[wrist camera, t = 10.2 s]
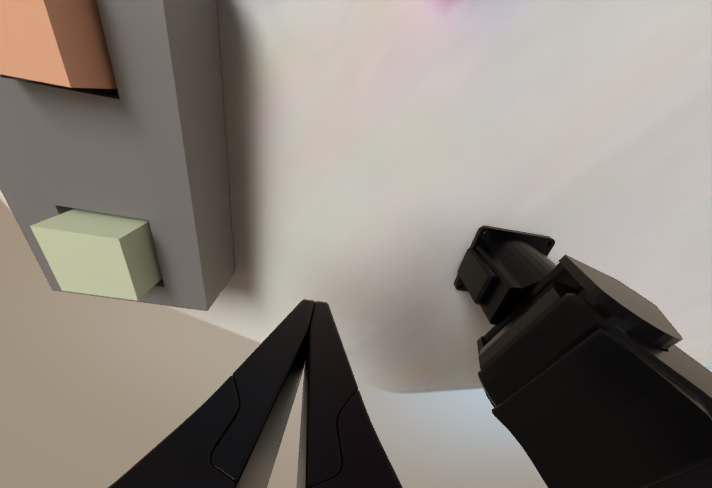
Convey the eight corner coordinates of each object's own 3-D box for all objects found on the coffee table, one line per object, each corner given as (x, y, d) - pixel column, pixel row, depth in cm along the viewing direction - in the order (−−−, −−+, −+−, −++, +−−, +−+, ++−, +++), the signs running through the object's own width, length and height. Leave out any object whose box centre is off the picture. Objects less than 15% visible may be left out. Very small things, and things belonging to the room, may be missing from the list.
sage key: (178, 204, 19) (118, 239, 15) (186, 255, 22) (137, 300, 17) (112, 193, 19) (30, 225, 14) (128, 246, 21) (61, 290, 16)
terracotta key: (141, -11, 14) (21, -71, 9) (158, 90, 16) (70, 87, 11) (46, -32, 13) (-134, -106, 8) (77, 74, 15) (-50, 65, 11)
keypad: (213, -43, 14) (147, -106, 10) (234, 272, 24) (207, 311, 20) (-11, -96, 13) (-195, -190, 9) (109, 254, 23) (52, 290, 19)
